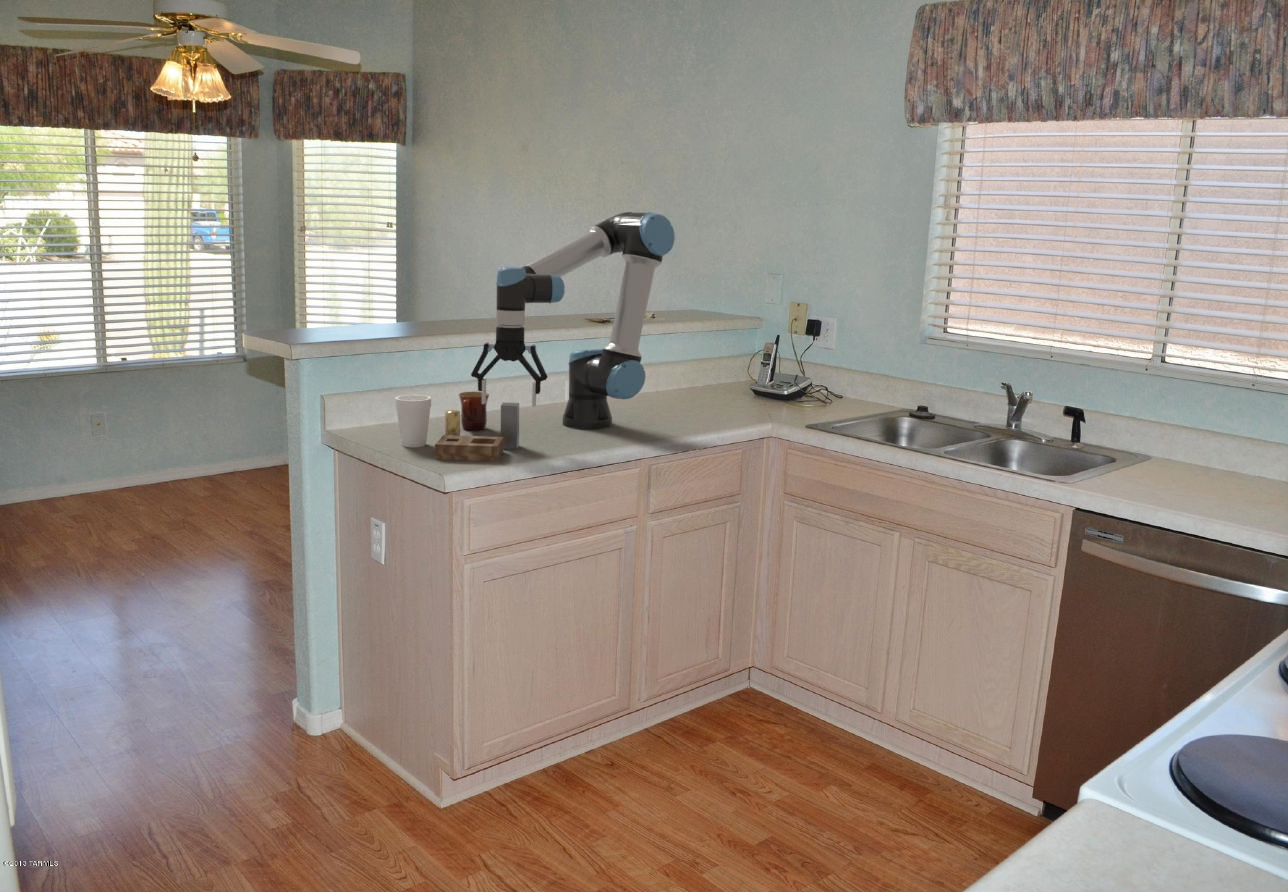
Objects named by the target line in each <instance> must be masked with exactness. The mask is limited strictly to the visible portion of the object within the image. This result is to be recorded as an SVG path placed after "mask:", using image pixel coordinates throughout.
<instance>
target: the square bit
mask: <svg viewBox="0 0 1288 892" xmlns="http://www.w3.org/2000/svg"><path fill="white" fill-rule="evenodd" d="M500 437H503V450H518V448H519V447H520V403H519V402H502V403H501V404H500Z"/></svg>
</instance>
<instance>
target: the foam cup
mask: <svg viewBox="0 0 1288 892" xmlns="http://www.w3.org/2000/svg"><path fill="white" fill-rule="evenodd" d="M394 399H395V401H394V402H395V409H396V413H397V423H398V427H399V435H400V439H401V441H400V442H401V446H403V447H405V448H421V447H425V446H426V445H427V440H428V439H427V438H428V429H429V422H430V414H431V413H430V412H431V408H432V397H431V396H429V395H425V394H403V395H398V396H396V397H395V398H394Z"/></svg>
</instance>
